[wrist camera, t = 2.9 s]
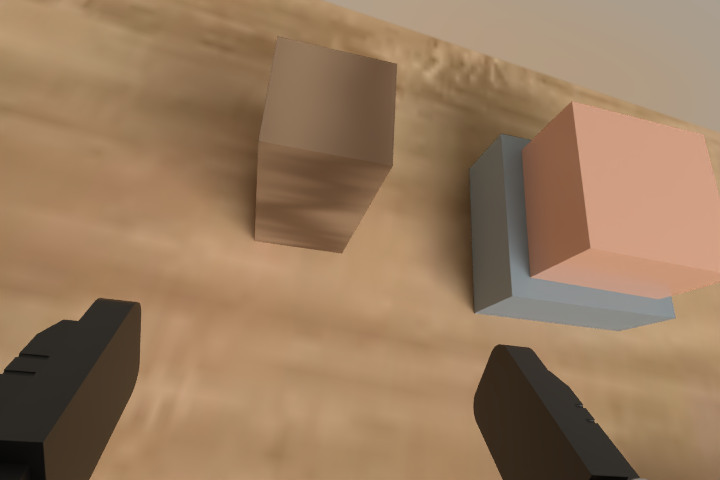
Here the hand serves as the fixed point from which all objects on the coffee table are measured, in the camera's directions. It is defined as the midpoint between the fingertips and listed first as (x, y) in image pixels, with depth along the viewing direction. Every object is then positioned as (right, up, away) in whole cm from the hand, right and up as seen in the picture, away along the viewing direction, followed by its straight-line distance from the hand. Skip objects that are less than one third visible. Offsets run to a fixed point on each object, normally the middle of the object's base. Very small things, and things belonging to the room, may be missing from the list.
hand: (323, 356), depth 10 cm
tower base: (+13, +2, +19) cm, 23 cm away
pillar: (-2, +5, +16) cm, 17 cm away
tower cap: (+14, +4, +15) cm, 21 cm away
